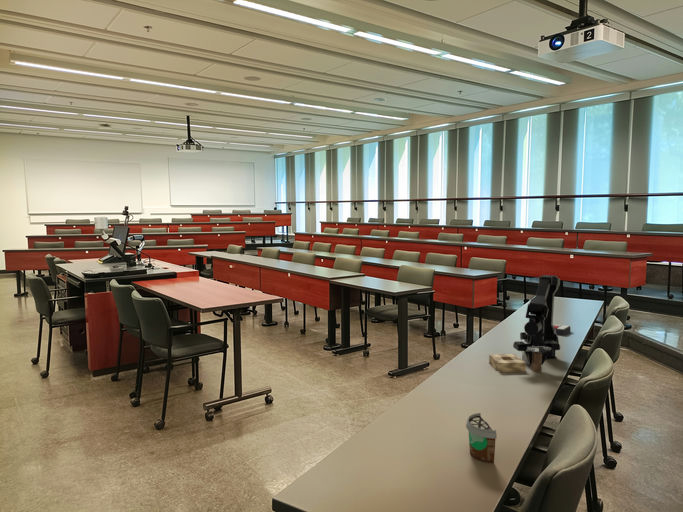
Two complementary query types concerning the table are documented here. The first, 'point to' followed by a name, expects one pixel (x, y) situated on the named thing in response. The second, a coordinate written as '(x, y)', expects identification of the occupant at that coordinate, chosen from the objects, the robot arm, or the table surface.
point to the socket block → (507, 363)
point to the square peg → (536, 362)
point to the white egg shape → (526, 356)
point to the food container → (481, 439)
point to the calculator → (562, 329)
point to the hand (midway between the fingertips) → (535, 364)
